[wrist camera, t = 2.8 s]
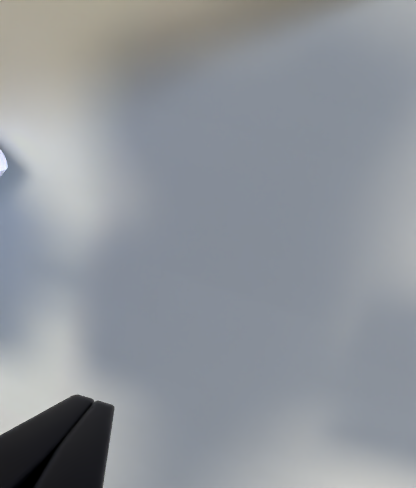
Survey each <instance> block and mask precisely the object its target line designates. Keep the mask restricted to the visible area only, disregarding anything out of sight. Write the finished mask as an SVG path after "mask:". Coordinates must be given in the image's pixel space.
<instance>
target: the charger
mask: <svg viewBox="0 0 416 488" xmlns="http://www.w3.org/2000/svg"><path fill="white" fill-rule="evenodd" d="M6 169H7V161H6V158H5V156H4V154H3V152H2V151H1V150H0V177H1V175H2V174H3V173H4V172H5V171H6Z"/></svg>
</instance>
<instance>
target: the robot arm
mask: <svg viewBox="0 0 416 488" xmlns="http://www.w3.org/2000/svg"><path fill="white" fill-rule="evenodd" d="M113 415H114V406H113V405H111V404H108V403H104V402H101V401H95V402H94V400H93V399H91V398H88V397H85V396H81V395H73V396H71V397H69V398H67V399H66V400H64V401H62V402H60V403H58V404H56V405H55V406H53V407H51V408H49V409H47V410H46V411H44V412H42V413H40V414H38V415H36V416H35V417H33V418H31V419H29V420H27V421H26V422H24V423H22V424H20V425H18V426H17V427H15V428H13V429H11V430H9V431H7V432H6V433H4V434H2V435H0V488H103V481H104V475H105V468H106V461H107V455H108V448H109V441H110V435H111V428H112V421H113Z"/></svg>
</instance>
